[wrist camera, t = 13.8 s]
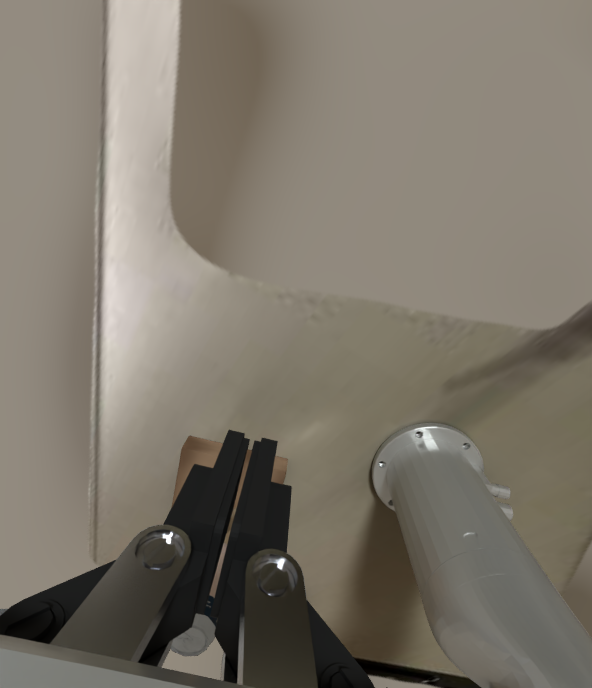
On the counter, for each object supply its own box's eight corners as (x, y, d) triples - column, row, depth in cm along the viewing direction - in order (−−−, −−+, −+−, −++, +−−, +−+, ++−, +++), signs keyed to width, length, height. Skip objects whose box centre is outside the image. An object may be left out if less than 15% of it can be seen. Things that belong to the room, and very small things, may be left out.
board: (287, 458, 43) (284, 493, 38) (256, 570, 49) (249, 615, 43) (189, 435, 43) (170, 467, 37) (168, 550, 48) (149, 593, 43)
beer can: (220, 556, 45) (189, 667, 34) (191, 533, 44) (149, 639, 33) (247, 536, 44) (224, 643, 33) (217, 511, 43) (183, 613, 32)
